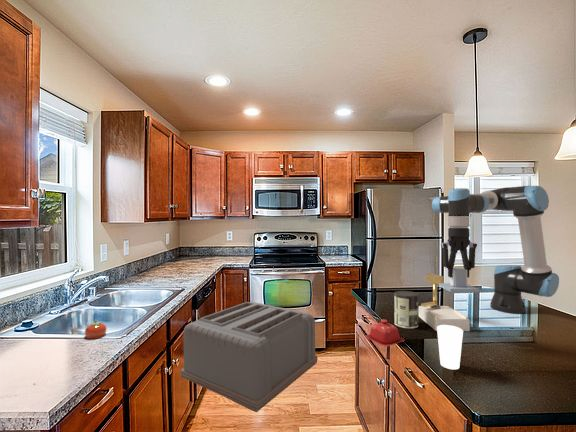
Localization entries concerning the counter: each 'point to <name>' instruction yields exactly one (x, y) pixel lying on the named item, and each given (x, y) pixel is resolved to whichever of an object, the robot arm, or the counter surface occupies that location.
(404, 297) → the coffee can
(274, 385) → the toaster
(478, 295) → the counter surface
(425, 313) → the housing
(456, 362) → the cup
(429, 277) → the l shaped latch
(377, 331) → the butter dish
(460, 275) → the cover
